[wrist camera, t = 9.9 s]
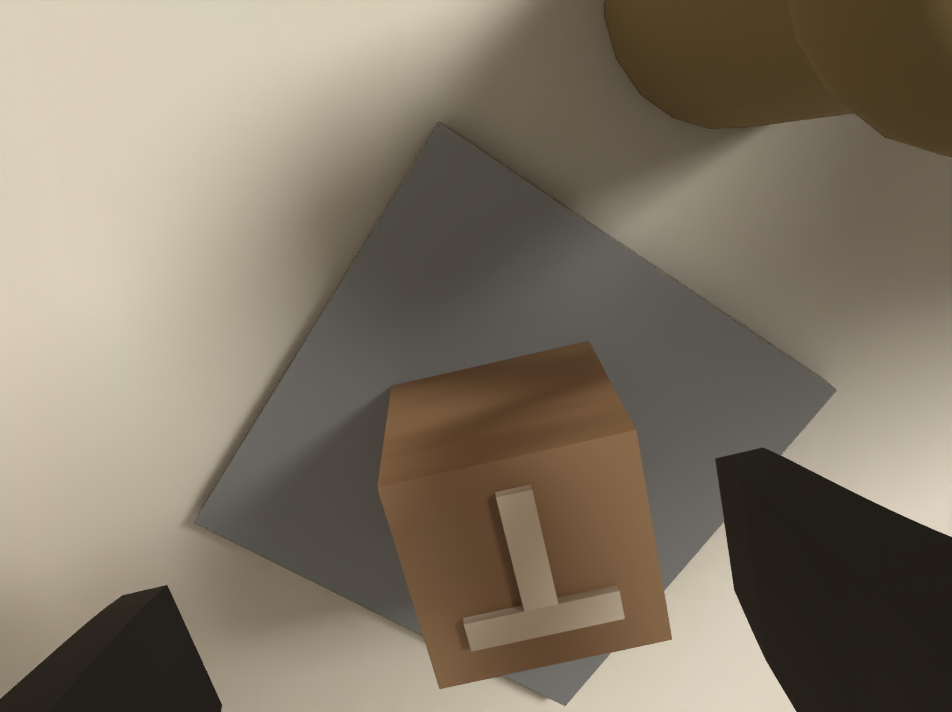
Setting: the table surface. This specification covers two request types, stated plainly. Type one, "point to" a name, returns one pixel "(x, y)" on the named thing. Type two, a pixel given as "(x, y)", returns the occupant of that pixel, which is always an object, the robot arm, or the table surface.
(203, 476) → the table surface
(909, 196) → the table surface
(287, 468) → the mat
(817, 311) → the table surface
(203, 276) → the table surface
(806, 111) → the cork
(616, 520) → the letter cube
